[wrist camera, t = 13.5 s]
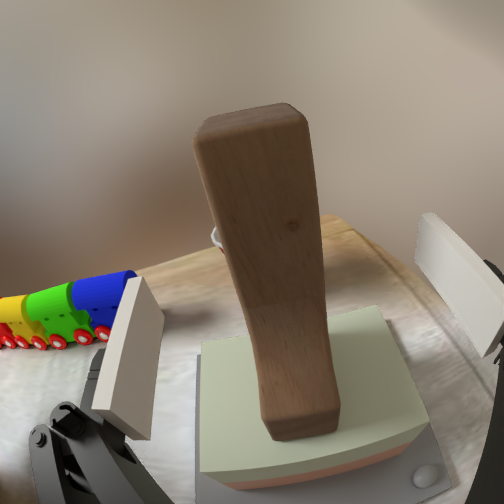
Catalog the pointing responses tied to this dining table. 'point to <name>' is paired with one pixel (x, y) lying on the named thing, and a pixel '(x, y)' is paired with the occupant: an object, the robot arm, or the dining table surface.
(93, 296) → the toy train
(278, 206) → the wooden block
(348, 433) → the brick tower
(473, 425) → the dining table surface
